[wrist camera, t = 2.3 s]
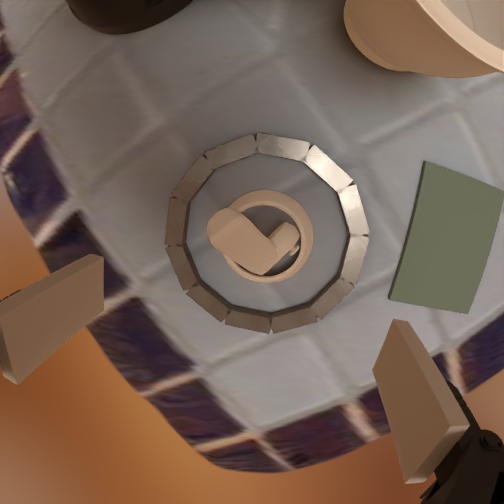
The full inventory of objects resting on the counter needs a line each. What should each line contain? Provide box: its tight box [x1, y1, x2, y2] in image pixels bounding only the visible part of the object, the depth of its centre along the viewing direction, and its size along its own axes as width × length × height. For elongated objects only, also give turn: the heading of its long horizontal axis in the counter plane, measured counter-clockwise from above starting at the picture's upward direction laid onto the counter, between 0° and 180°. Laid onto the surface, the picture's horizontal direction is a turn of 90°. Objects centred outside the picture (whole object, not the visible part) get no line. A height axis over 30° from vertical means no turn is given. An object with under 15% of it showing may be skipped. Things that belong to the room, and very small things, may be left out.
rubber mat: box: [388, 161, 504, 314], centre depth 23 cm, size 12×9×1 cm
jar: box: [344, 0, 504, 78], centre depth 12 cm, size 11×10×15 cm
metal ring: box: [165, 133, 370, 334], centre depth 25 cm, size 16×16×1 cm
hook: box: [207, 190, 314, 283], centre depth 22 cm, size 8×12×7 cm
